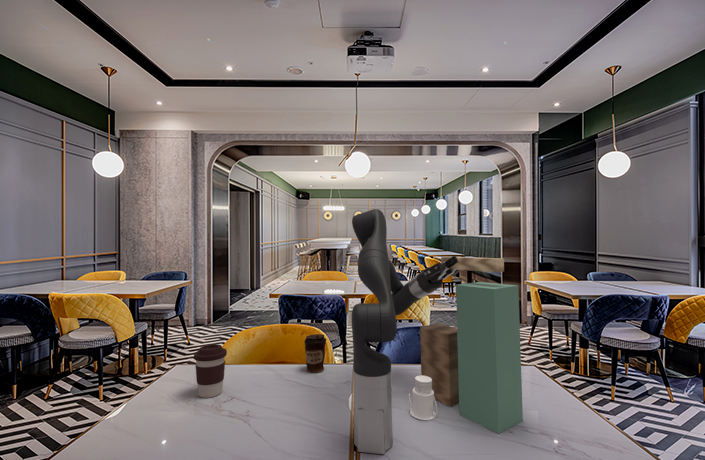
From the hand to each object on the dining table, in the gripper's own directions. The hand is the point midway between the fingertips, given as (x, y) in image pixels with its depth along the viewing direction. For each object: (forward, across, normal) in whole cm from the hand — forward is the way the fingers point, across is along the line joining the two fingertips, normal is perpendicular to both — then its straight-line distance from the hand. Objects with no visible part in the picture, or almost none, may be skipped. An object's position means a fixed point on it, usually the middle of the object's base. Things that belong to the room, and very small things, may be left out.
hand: (460, 258), depth 104 cm
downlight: (-24, +14, -36) cm, 46 cm away
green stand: (-14, 0, -42) cm, 44 cm away
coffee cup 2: (-66, +22, -12) cm, 71 cm away
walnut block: (-28, 0, -34) cm, 44 cm away
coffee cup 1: (-68, +60, -11) cm, 91 cm away
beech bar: (+1, 0, -4) cm, 5 cm away
